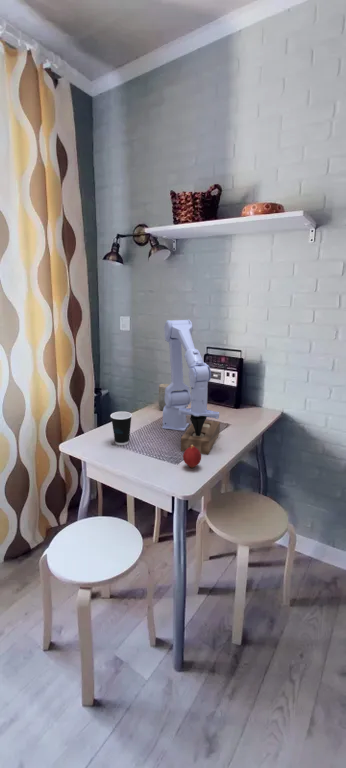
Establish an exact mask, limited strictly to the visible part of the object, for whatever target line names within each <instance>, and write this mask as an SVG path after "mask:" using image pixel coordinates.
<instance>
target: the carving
mask: <svg viewBox="0 0 346 768" xmlns="http://www.w3.org/2000/svg"><path fill="white" fill-rule="evenodd" d="M170 384H171V383H161V384H159V385H158V398H157V401H158V409H159V410H160V411H163V409H164V406H165V405H166V403H165V388H166V387H167V386H168V385H170Z"/></svg>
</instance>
